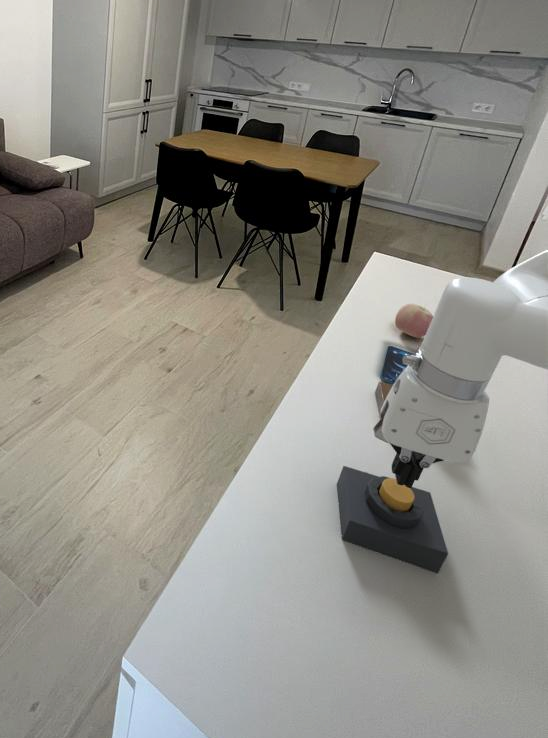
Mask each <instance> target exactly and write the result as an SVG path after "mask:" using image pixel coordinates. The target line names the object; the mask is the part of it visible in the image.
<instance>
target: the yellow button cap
mask: <svg viewBox="0 0 548 738" xmlns="http://www.w3.org/2000/svg"><path fill="white" fill-rule="evenodd" d="M379 494H380V497H381V499H382V500H383V501H384V502H385V503H386V504H387V505H388V506H390V507H391V508H393V509H395V510H398V511H408V510H409V509H410V507H411V505H412V503H413V501H414V493H413V492H412V490H411V489H410V488H408V487H406V486H405V485H398V484H397V480H396V478H392V477H388V478H387V479H385V480H384V481H383V483H382V485H381V488H380V490H379Z"/></svg>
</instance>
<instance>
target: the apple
mask: <svg viewBox="0 0 548 738" xmlns="http://www.w3.org/2000/svg"><path fill="white" fill-rule="evenodd" d="M433 316H434V314H432V312H431V311H429V309H427V308H426V307H423V306H422V305H418V304H415V303H408V304H407V303H406V304H405V305H403V306H401V308H399V309H398V311H397V313H396V314H395V319H394V324H395V327H396V328H397V329H398V330H399V331H401V332H403V333H404V334H406V335H408V336H410V337H412V338H415V339H416V338H417V339H419V338H423V337H425V335H426V333H427V331H428V328H429V326H430V323H431V321H432V318H433Z"/></svg>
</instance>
